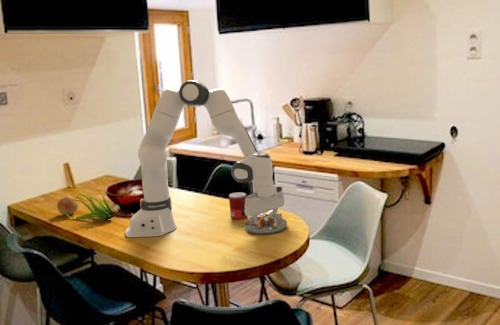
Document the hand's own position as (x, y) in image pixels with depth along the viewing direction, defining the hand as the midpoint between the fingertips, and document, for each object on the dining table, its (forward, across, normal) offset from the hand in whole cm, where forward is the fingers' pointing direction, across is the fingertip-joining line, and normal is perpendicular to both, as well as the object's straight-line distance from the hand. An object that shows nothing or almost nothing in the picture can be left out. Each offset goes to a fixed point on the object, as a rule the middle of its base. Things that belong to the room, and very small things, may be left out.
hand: (265, 221), depth 226 cm
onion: (+3, -50, +95) cm, 107 cm away
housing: (+3, 0, 0) cm, 3 cm away
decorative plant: (+3, -47, +80) cm, 93 cm away
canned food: (+3, +2, +20) cm, 21 cm away
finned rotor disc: (+1, 0, 0) cm, 1 cm away
